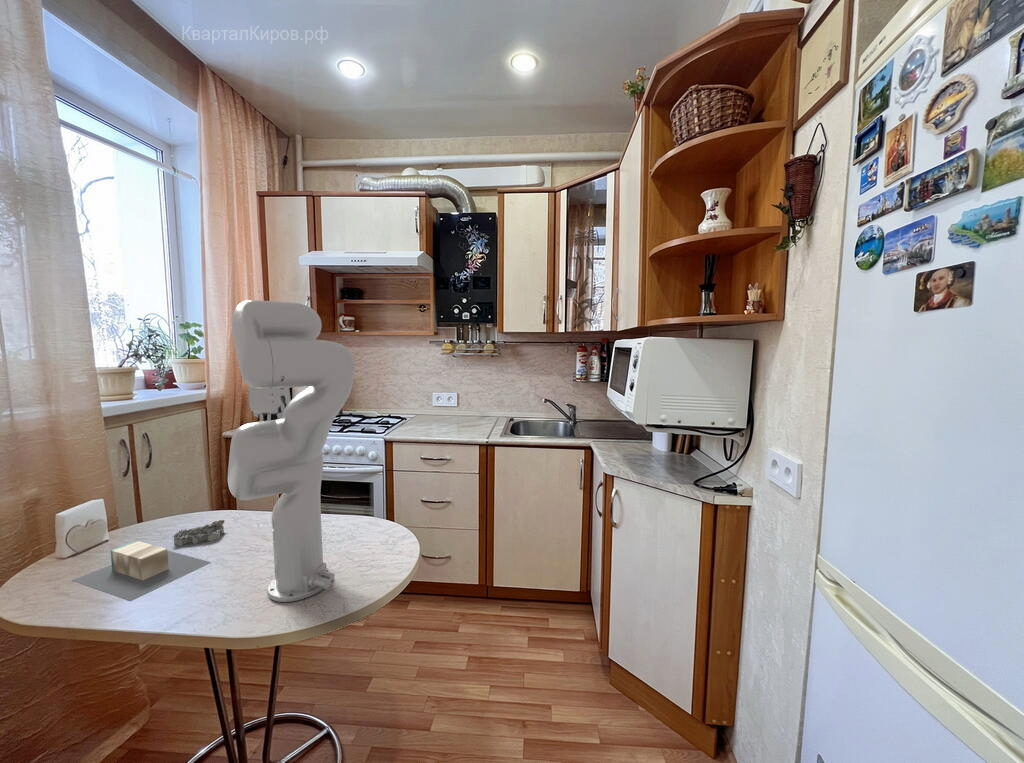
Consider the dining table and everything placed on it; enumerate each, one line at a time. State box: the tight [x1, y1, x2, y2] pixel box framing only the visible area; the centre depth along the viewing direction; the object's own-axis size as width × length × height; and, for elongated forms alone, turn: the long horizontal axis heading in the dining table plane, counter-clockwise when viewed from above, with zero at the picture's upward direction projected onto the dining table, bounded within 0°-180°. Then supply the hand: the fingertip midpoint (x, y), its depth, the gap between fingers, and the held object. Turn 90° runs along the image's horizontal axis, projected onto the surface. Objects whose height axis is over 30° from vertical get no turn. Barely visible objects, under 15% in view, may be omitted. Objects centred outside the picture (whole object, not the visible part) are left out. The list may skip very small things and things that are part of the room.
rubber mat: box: [71, 549, 212, 602], centre depth 94 cm, size 22×16×1 cm
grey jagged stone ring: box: [171, 519, 225, 547], centre depth 110 cm, size 11×8×4 cm
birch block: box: [110, 540, 169, 580], centre depth 94 cm, size 5×5×12 cm
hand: (271, 438), depth 105 cm, fingers closed
